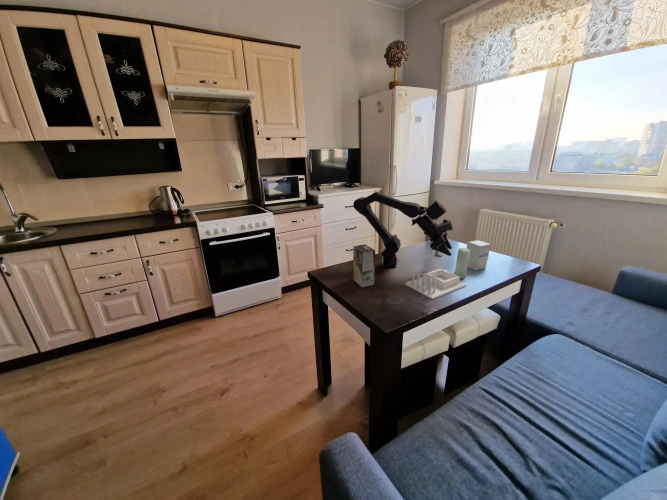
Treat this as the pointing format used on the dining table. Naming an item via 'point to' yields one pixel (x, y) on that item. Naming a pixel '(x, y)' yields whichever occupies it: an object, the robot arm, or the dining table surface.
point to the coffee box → (363, 265)
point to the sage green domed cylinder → (462, 262)
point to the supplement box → (478, 254)
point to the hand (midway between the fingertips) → (451, 252)
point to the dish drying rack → (435, 283)
